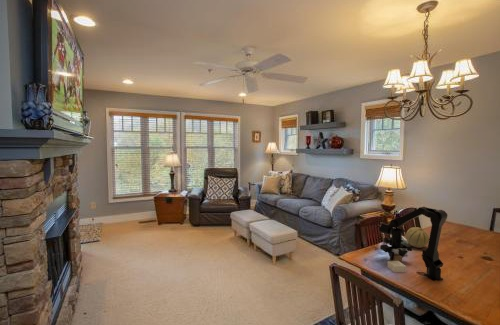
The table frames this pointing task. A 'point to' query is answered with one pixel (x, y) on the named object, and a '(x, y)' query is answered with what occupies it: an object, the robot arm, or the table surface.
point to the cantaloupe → (417, 237)
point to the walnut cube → (397, 257)
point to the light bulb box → (402, 243)
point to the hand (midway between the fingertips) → (395, 260)
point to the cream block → (396, 266)
